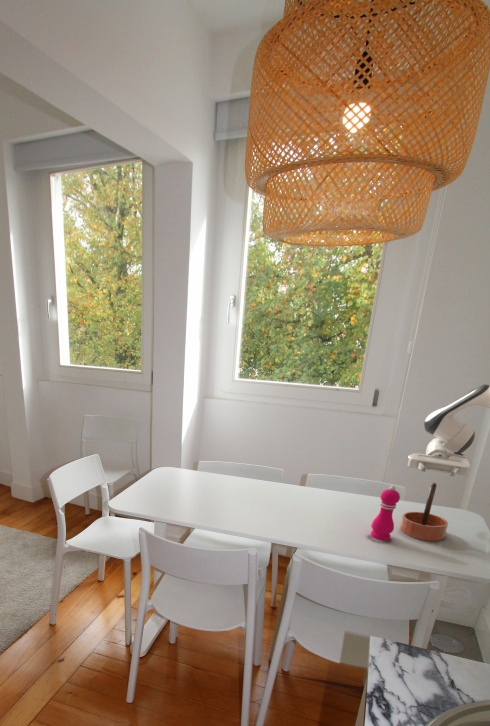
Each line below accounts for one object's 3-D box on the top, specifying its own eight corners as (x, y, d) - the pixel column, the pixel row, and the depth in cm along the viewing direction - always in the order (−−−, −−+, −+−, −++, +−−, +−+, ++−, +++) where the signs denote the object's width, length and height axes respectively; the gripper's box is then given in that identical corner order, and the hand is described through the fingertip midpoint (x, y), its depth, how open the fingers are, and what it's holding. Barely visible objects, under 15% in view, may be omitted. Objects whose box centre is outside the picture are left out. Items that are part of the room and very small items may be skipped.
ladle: (431, 531, 173) (444, 482, 166) (429, 537, 168) (442, 486, 161) (414, 528, 176) (426, 479, 169) (412, 533, 171) (424, 483, 164)
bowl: (445, 532, 174) (449, 517, 172) (442, 546, 163) (446, 530, 161) (402, 523, 182) (406, 509, 179) (396, 535, 170) (400, 520, 168)
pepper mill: (389, 544, 164) (403, 491, 156) (367, 538, 167) (380, 486, 159) (391, 536, 170) (405, 484, 161) (370, 531, 173) (383, 480, 165)
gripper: (410, 446, 185) (408, 459, 174) (471, 455, 176) (472, 469, 165) (406, 461, 188) (404, 474, 177) (466, 470, 179) (467, 485, 168)
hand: (437, 471), depth 171 cm, fingers open, 8 cm apart
